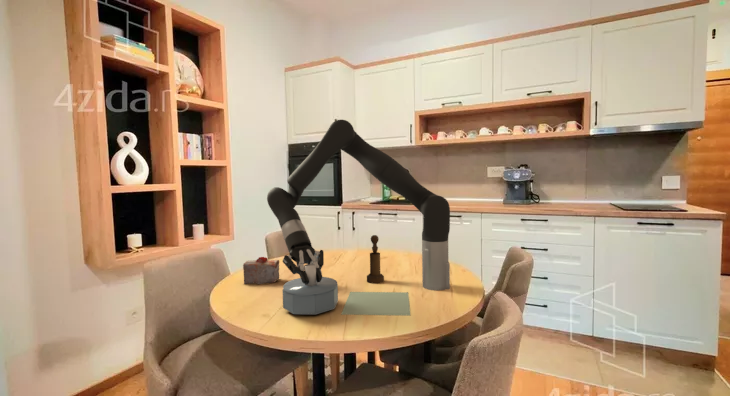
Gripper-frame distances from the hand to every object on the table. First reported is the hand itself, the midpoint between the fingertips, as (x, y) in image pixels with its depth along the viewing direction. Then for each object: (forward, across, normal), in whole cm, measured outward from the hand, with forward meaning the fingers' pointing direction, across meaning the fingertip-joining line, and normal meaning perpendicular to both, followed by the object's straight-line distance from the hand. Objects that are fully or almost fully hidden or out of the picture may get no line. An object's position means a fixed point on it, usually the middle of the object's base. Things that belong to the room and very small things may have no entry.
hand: (313, 281), depth 104 cm
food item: (-22, -3, +35) cm, 41 cm away
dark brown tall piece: (-2, +32, +15) cm, 35 cm away
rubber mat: (+11, +18, +1) cm, 22 cm away
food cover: (+4, 0, +7) cm, 8 cm away
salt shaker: (-9, +11, +22) cm, 26 cm away
